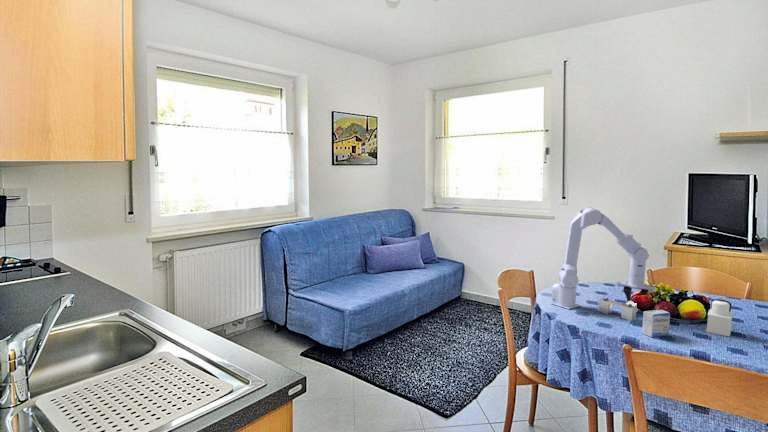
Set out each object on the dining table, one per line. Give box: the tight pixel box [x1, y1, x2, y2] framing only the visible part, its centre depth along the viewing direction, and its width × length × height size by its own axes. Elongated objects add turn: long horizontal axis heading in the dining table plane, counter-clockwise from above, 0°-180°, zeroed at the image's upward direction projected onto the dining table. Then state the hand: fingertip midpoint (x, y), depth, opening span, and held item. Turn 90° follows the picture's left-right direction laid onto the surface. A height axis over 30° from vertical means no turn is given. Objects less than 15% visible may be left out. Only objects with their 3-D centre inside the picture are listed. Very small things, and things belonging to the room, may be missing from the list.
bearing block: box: [597, 297, 637, 322], centre depth 187 cm, size 14×3×6 cm, turn 34°
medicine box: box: [641, 309, 671, 339], centre depth 167 cm, size 8×4×9 cm, turn 105°
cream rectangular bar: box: [625, 300, 639, 313], centre depth 193 cm, size 14×4×4 cm, turn 137°
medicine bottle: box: [705, 298, 734, 337], centre depth 169 cm, size 7×7×12 cm
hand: (634, 305), depth 195 cm, fingers closed on cream rectangular bar, 4 cm apart
